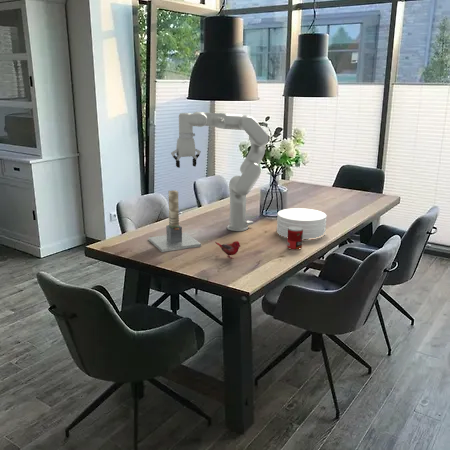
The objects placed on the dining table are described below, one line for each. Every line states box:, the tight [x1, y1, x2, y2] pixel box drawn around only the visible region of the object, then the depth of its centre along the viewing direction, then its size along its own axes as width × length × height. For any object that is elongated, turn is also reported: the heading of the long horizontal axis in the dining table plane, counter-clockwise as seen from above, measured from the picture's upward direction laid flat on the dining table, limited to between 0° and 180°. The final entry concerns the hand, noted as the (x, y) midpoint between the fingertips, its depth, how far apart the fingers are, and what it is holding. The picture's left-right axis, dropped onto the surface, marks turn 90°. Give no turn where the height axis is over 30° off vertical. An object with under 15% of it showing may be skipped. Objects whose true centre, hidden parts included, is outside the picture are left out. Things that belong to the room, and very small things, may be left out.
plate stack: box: [276, 207, 327, 239], centre depth 290 cm, size 28×28×12 cm
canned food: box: [286, 226, 303, 250], centre depth 264 cm, size 8×8×11 cm
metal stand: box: [148, 224, 202, 253], centre depth 270 cm, size 22×22×10 cm
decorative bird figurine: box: [214, 240, 241, 260], centre depth 249 cm, size 3×18×10 cm, turn 47°
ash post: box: [167, 189, 180, 228], centre depth 266 cm, size 4×4×20 cm
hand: (186, 166), depth 280 cm, fingers open, 9 cm apart
